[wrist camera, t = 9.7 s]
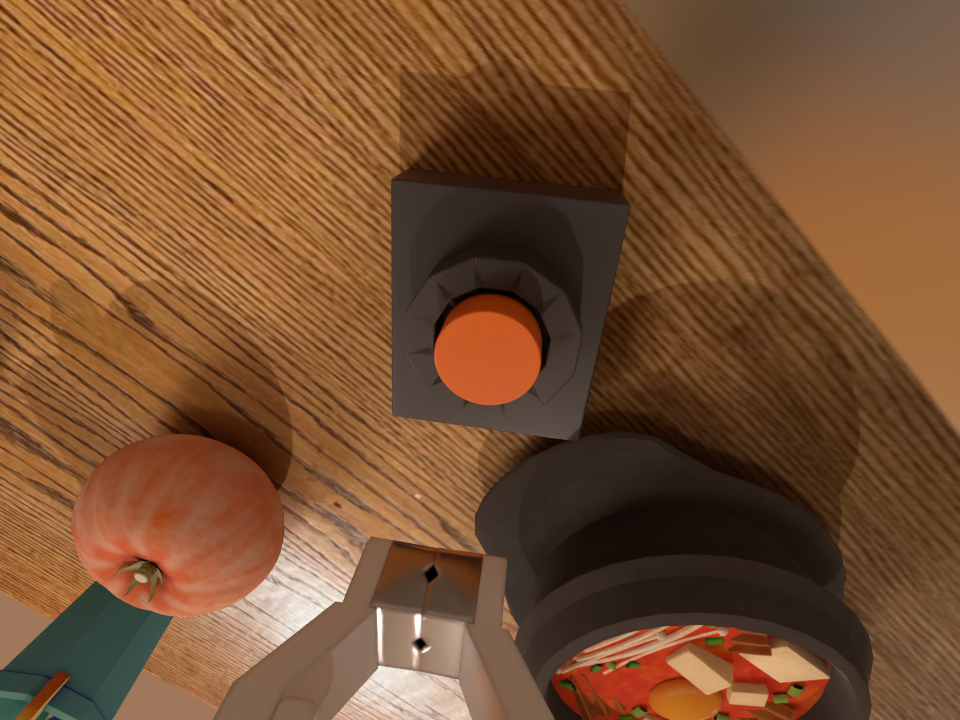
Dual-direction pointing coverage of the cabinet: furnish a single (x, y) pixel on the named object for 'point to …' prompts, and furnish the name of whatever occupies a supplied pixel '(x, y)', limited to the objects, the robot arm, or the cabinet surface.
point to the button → (489, 349)
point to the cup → (81, 661)
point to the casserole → (671, 589)
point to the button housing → (502, 288)
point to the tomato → (178, 525)
